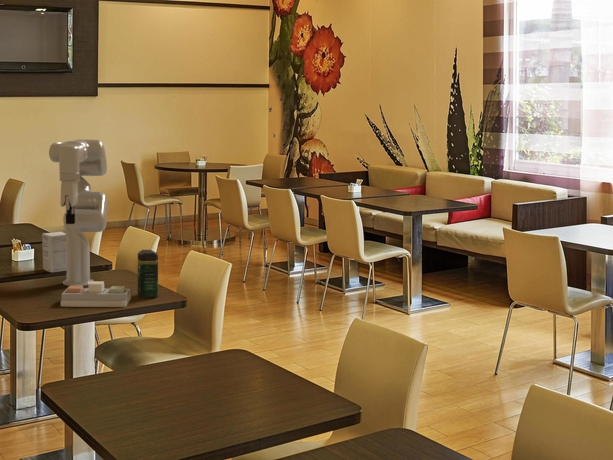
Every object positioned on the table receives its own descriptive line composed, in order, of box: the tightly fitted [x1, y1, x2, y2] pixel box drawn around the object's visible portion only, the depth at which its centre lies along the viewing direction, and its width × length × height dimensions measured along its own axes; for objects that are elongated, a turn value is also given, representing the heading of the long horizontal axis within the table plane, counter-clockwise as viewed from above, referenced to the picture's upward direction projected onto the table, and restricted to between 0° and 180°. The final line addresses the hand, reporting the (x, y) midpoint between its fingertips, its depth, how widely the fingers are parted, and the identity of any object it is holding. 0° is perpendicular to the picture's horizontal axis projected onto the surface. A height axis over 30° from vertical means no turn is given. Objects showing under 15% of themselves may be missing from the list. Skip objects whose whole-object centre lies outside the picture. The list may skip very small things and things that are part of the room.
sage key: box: [110, 285, 126, 293], centre depth 316 cm, size 5×5×4 cm
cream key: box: [87, 280, 105, 293], centre depth 315 cm, size 5×5×4 cm
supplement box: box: [41, 231, 67, 273], centre depth 375 cm, size 10×9×17 cm
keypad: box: [60, 287, 132, 308], centre depth 316 cm, size 13×24×4 cm, turn 93°
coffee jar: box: [137, 249, 159, 299], centre depth 328 cm, size 10×8×19 cm
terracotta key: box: [66, 286, 84, 293], centre depth 315 cm, size 5×5×4 cm
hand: (70, 223), depth 323 cm, fingers closed
